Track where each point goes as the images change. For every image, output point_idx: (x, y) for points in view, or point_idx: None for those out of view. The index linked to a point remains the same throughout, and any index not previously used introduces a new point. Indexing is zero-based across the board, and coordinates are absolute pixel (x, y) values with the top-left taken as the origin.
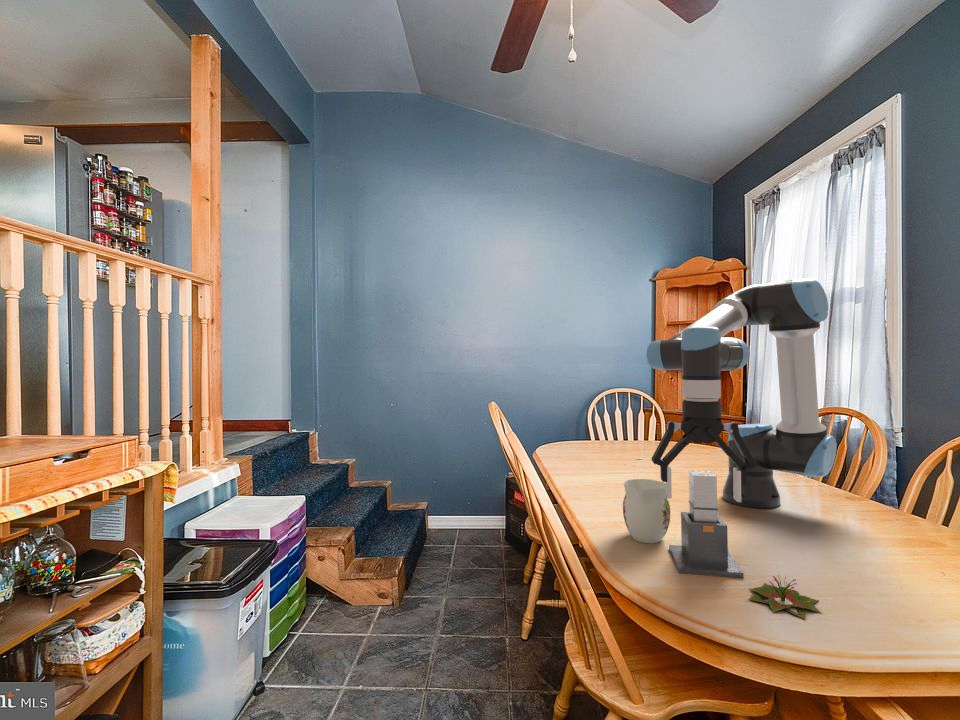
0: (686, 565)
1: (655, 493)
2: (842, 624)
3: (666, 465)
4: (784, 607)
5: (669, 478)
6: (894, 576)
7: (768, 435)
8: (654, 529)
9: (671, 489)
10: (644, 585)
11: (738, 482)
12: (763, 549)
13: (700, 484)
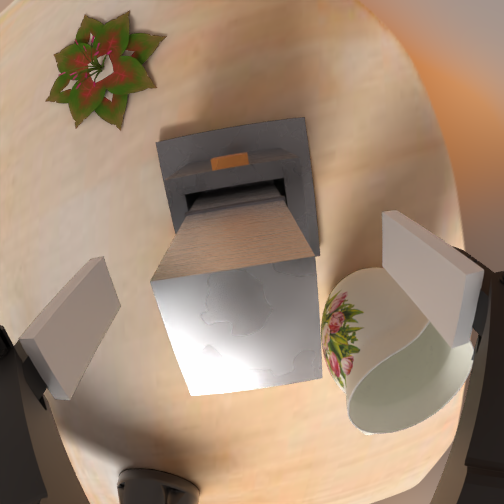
0: (286, 138)
1: (399, 337)
2: (39, 36)
3: (498, 281)
4: (105, 27)
5: (439, 243)
6: None
7: None
8: (363, 275)
9: (401, 225)
10: (372, 41)
11: (59, 300)
12: (117, 316)
13: (260, 240)
